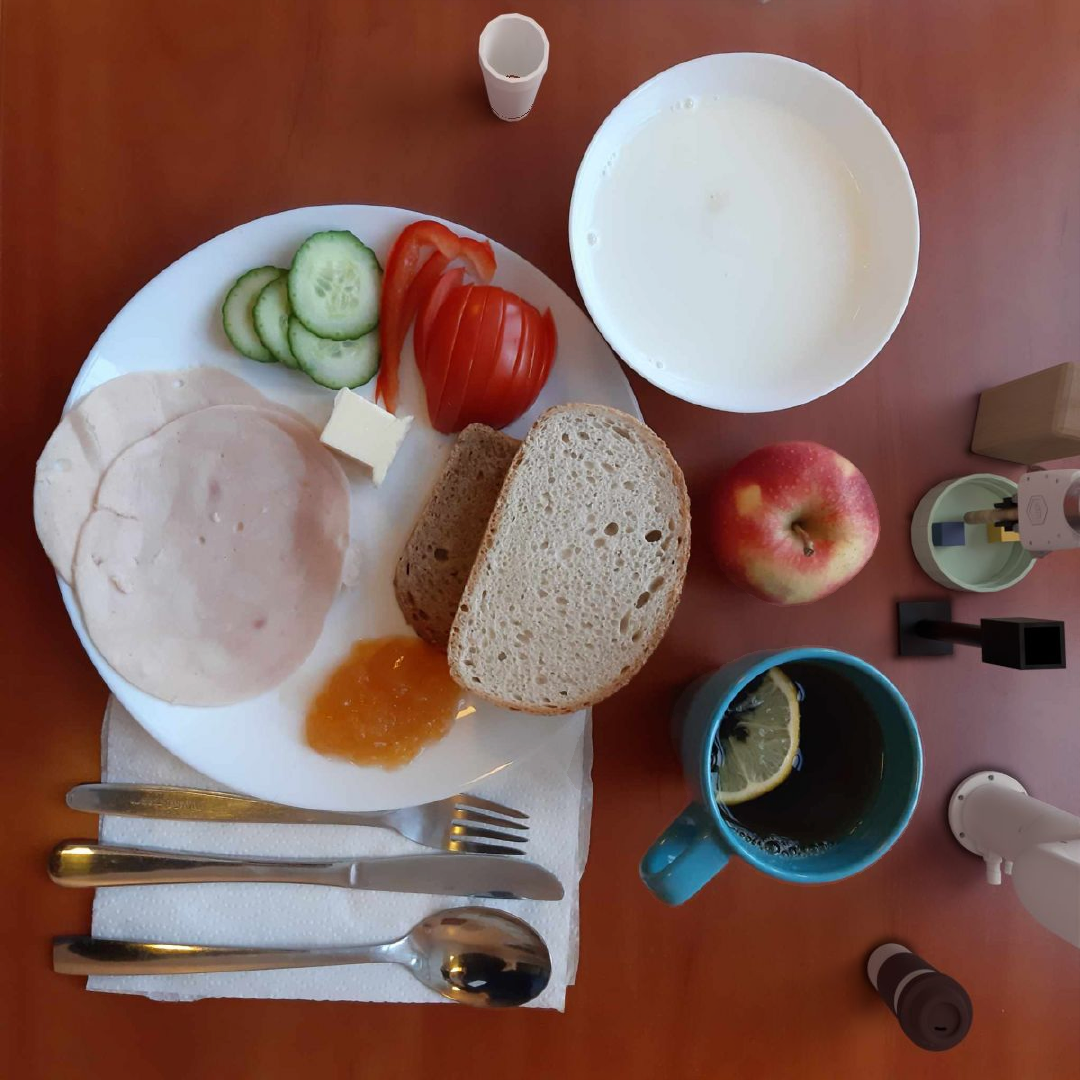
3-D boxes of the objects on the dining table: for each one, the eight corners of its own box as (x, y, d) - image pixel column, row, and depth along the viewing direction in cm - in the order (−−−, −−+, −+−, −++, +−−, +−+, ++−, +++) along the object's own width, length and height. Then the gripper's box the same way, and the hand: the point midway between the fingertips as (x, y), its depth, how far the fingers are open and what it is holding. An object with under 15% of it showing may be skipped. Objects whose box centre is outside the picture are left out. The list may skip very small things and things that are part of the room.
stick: (976, 524, 127) (1036, 520, 114) (963, 525, 127) (1022, 520, 113) (975, 511, 128) (1036, 505, 114) (963, 511, 127) (1021, 505, 113)
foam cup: (471, 119, 126) (469, 68, 113) (489, 61, 126) (490, 4, 114) (532, 140, 127) (538, 91, 114) (550, 82, 127) (558, 27, 114)
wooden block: (1029, 466, 130) (1128, 449, 110) (967, 453, 130) (1055, 433, 110) (1040, 403, 131) (1141, 374, 111) (979, 389, 130) (1068, 357, 110)
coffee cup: (884, 919, 127) (938, 967, 112) (935, 960, 127) (995, 1013, 112) (844, 972, 126) (892, 1028, 111) (894, 1014, 126) (950, 1074, 112)
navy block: (952, 545, 128) (965, 545, 125) (929, 546, 128) (942, 546, 125) (951, 522, 128) (964, 521, 125) (928, 523, 128) (941, 522, 125)
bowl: (1020, 589, 130) (1044, 590, 124) (911, 592, 128) (930, 593, 123) (1016, 476, 130) (1039, 472, 124) (906, 478, 129) (925, 474, 123)
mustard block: (1010, 541, 129) (1024, 540, 125) (987, 542, 129) (1001, 542, 125) (1008, 518, 129) (1023, 516, 126) (986, 519, 129) (1000, 518, 125)
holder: (949, 653, 129) (1076, 678, 101) (898, 655, 128) (1011, 680, 100) (947, 600, 129) (1073, 610, 101) (896, 602, 128) (1008, 612, 101)
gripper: (1065, 439, 101) (975, 458, 119) (1070, 574, 100) (979, 572, 119) (1126, 438, 101) (1027, 458, 120) (1131, 572, 101) (1031, 571, 119)
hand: (1004, 515), depth 119 cm, fingers closed on stick, 2 cm apart
